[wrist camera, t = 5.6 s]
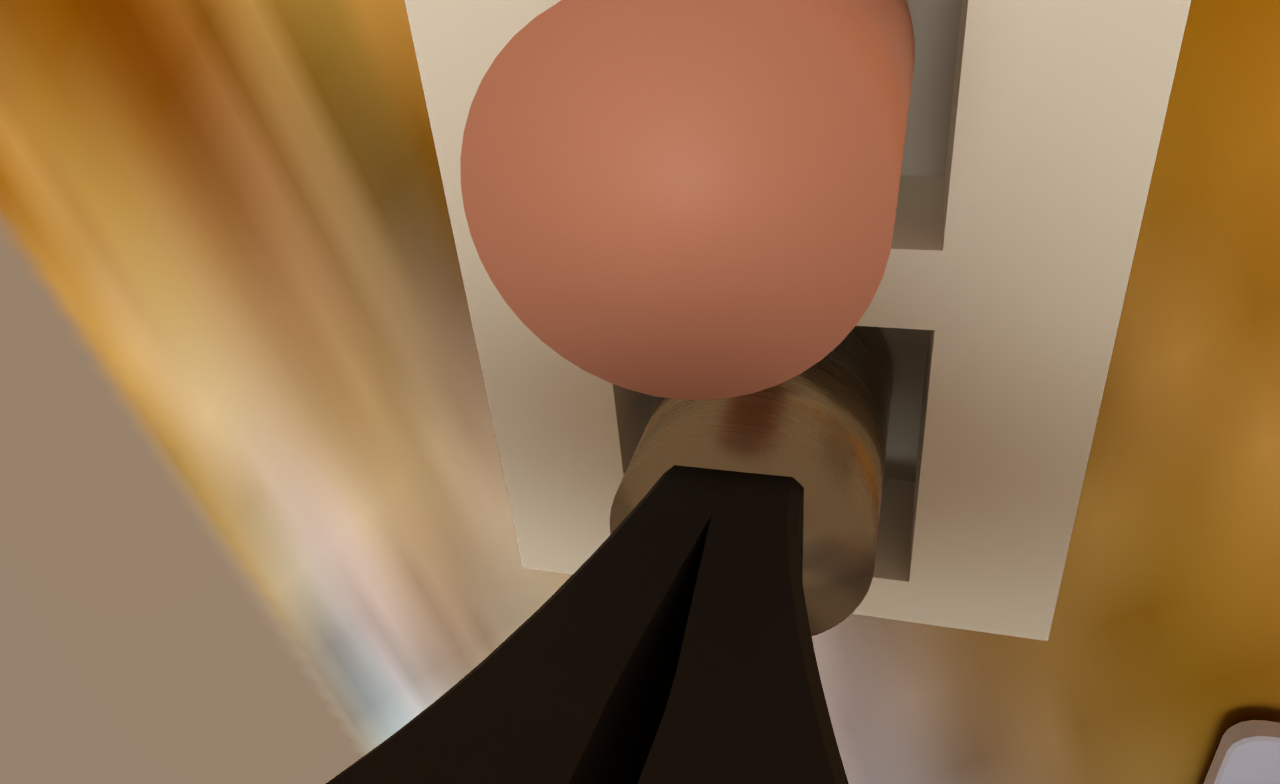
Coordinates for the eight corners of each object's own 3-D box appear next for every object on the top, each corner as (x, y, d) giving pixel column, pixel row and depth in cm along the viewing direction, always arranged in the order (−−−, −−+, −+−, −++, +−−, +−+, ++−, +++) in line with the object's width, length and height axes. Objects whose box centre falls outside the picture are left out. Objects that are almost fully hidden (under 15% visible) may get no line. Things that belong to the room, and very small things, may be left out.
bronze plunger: (900, 283, 11) (882, 455, 9) (886, 464, 13) (867, 659, 10) (676, 272, 12) (596, 428, 9) (689, 445, 14) (622, 623, 11)
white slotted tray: (1332, -1126, 6) (1562, -1656, 4) (1031, 488, 14) (1047, 641, 12) (403, -844, 8) (180, -1083, 6) (587, 444, 16) (522, 568, 13)
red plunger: (927, -115, 8) (912, -34, 5) (904, 211, 9) (880, 415, 6) (598, -95, 8) (421, -14, 6) (626, 204, 10) (498, 384, 7)
